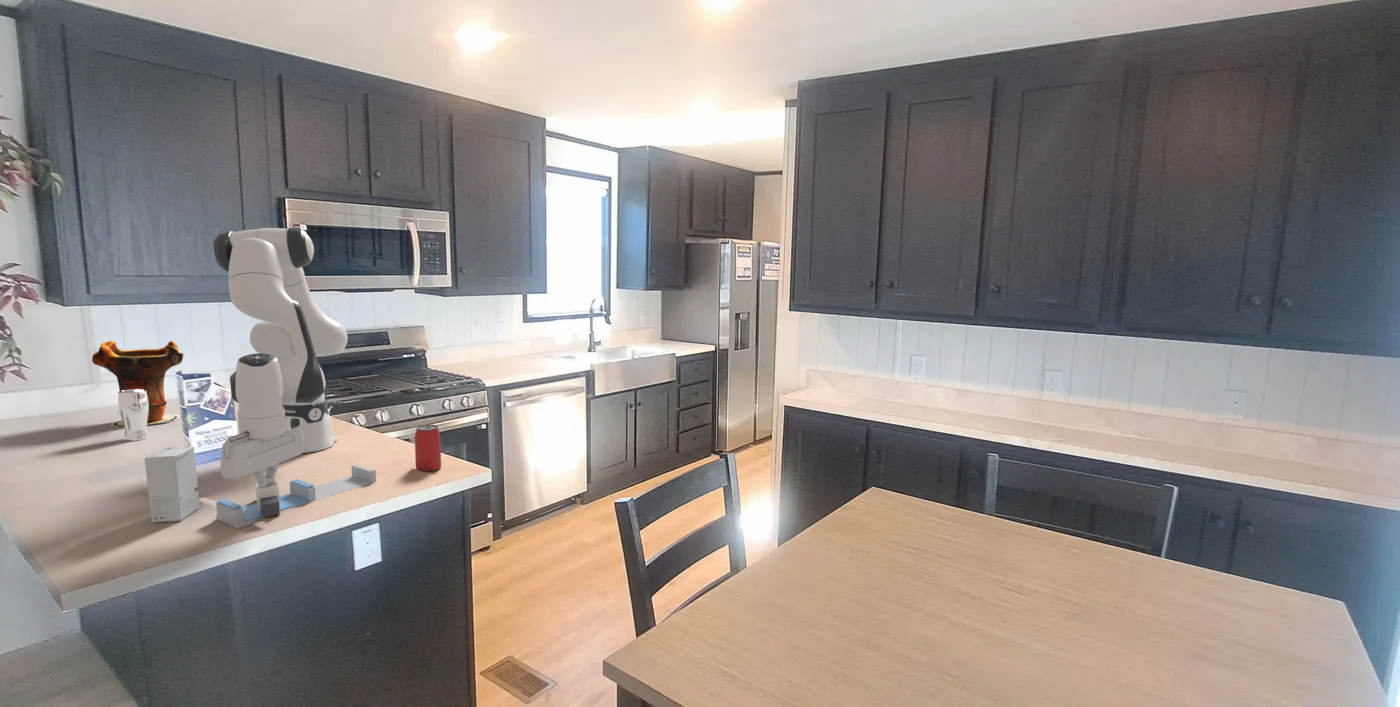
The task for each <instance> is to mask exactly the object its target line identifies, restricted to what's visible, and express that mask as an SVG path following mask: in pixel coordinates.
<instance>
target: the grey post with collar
mask: <svg viewBox="0 0 1400 707" xmlns="http://www.w3.org/2000/svg"><path fill="white" fill-rule="evenodd" d="M255 494H256V495H255V496H256V503H257V507H258V510H259V512H260V511H262V514H263V517H262V518H263V519H264V518H271V517H276V516H279V515H281V511H280V510H279V508H280V499H279V496H280V487H279V484H278V481H277V480H275V483H273V484H271V485H268V486H266V487H264V488H263V487H258V483H255Z"/></svg>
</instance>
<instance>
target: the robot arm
mask: <svg viewBox="0 0 1400 707" xmlns="http://www.w3.org/2000/svg"><path fill="white" fill-rule="evenodd" d="M212 244H213V245H212V253H213V256H214V259H215V261H216V263H217V265H218V266H219V267H220V268H221V269H222V270H224V271H226V272H228V292H229V297H230V301H231V303H232V304H233V306H234V307H235V308H236V309H237V310H239V312H242V313H243V314H245V315H247V316H248V317H250V318H254V319H257V320H261V321H257V322H256V324H254V325H253V326H252V328H251V330H250V333H249V342H250V345H251V347H252V348H253V349H254V351H255V352H256V353H250V354H247V355H243V356H240V357H239V358H238V359H237V362H236V366H235V371H234V372H233V373H232V374H231V375H230V376H229V382H230V383H229V384H230V395H231V396H230V397H231V399H232V400H233V401H235V402H236V404H238V411H237V426H238V434H236V435H231V436H229V437H227V440H225V442H224V443H223V444H222V449H221V453H220V454H221V455H220V476H221V477H223V479H225V480H239V479H242V478H245V477H247V476H250V475H252V476H253V477H254V478H255V479H256V481H257V484H258V487H263V488H264V487H266V486H268V485H271V484H273V483H275V481H276V480H275V477H276V473H277V471H278V469H279V464H280V463H283V462H286V461H288V460H289V459H292V458H294V457H298V456H300V455H301V454H305V453H313V452H319V451H322V450H326V449H329V448H330V447H332V446H333V445H334V443H336V442H338V436H335V435H334V430H333V423H332V417H331V416H330V414H328V413H327V411H328V402H327V399H325V398H326V397H325V389H326V378H325V374H324V371H323V369H322V368H321V366H320V363H319V361H318V357H319V358H320V357H330V356H334V355H339V354H341V353H342V352H343V351H344V350H345V348H346V346H347V345H348V340H349V338H348V333H347V330H346V329H345V327H344V326H343V325H342V324H341V323H340V322H338V321H336V320H334V319H332V318H330V317H329V316H328V315H327V314H325V312H324V311H322V310H321V309H320V307H319V306H318V305H317V304H316V302H315V301H314V299H313V297H312V294H311V291H310V288H309V285H308V282H307V280H306V276H305V271H304V267H306V266H308V265H310V264H311V263H312V261H313V258H314V253H315V247H314V243H313V240H312V239H311V237H310V235H309V234H308V233H307V231H306V230H304V229H301V228H297V227H288V228H282V227H281V228H279V227H261V228H257V229H245V230H238V231H233V230H230V231H226V232H221V233H219V234H218V235H217V236H216V237H215V238H214V240H213V243H212Z"/></svg>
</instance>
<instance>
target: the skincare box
mask: <svg viewBox="0 0 1400 707" xmlns="http://www.w3.org/2000/svg"><path fill="white" fill-rule="evenodd" d="M144 464H145V475H146V484H147V491H148V501H149V511H150V519H151V520H150V521H151V523H161V522H162V523H165V522H166V523H168V522H169V523H170V522H171V523H172V522H181V521H183V520H184V519H185V518H186V517H188V516H189V515H191V514H192V513H194V512H196V511H198V510H199V509H200V507H201V505H200V504H201V503H200V493H199V485H198V476H197V467H196V466H197V465H196V455H195V448H194V446H183V447H167V448H166V447H165V448H164V449H161V450H160V451H155V452H154V453H153V454H150V455H149V456H145V458H144Z"/></svg>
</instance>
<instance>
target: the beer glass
mask: <svg viewBox="0 0 1400 707" xmlns="http://www.w3.org/2000/svg"><path fill="white" fill-rule="evenodd" d="M117 393H118V394H117V404H118V410H119V416H120V418H121V420H122V421H123V424H124V433H123V434H124V436H123V440H124V441H126V442H137V441H144V440H147V439H149V438H150V437H151V434H150V433H149V429H148V425H147V419H148V412H149V402H148V396H147V391H146V389H129V390H122V391H120V390H119V391H118V392H117Z"/></svg>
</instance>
